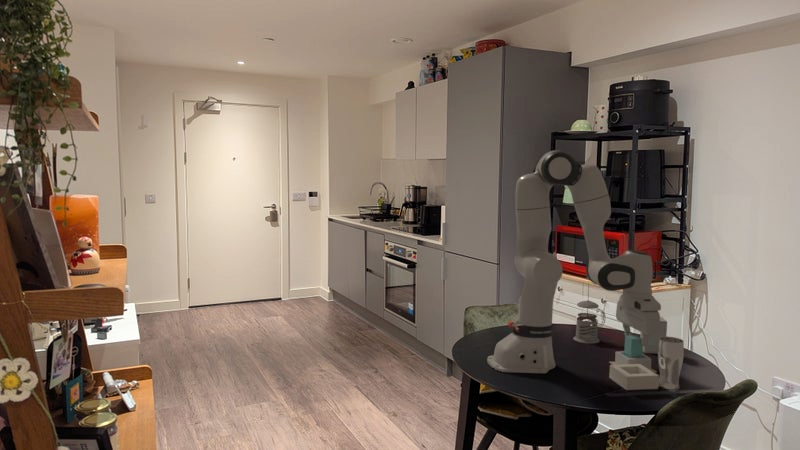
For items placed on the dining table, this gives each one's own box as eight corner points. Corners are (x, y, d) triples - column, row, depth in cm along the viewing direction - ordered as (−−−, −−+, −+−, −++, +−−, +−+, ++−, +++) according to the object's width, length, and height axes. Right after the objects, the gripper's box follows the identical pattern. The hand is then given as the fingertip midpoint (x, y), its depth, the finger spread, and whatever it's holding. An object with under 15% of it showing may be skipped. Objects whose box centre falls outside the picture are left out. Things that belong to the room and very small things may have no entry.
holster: (625, 375, 178) (626, 361, 177) (608, 364, 188) (609, 350, 188) (657, 374, 179) (658, 360, 179) (638, 363, 190) (639, 349, 190)
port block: (626, 393, 163) (627, 376, 163) (609, 380, 173) (609, 365, 173) (658, 391, 165) (658, 375, 164) (639, 379, 174) (639, 363, 174)
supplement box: (665, 356, 198) (667, 321, 196) (643, 354, 199) (645, 320, 198) (660, 350, 205) (662, 316, 204) (639, 348, 206) (640, 315, 205)
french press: (570, 335, 222) (572, 273, 219) (599, 336, 221) (602, 274, 219) (576, 343, 212) (579, 278, 210) (607, 343, 211) (611, 278, 209)
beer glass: (673, 383, 171) (676, 336, 170) (686, 392, 164) (689, 343, 163) (651, 383, 171) (654, 336, 170) (662, 392, 164) (665, 343, 163)
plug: (630, 369, 181) (631, 339, 181) (623, 364, 185) (625, 335, 185) (641, 368, 182) (643, 338, 181) (634, 364, 186) (636, 335, 185)
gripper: (611, 293, 191) (610, 332, 193) (645, 307, 171) (644, 351, 173) (628, 292, 192) (627, 331, 194) (664, 306, 172) (662, 350, 173)
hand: (635, 341), depth 183 cm, fingers open, 8 cm apart
